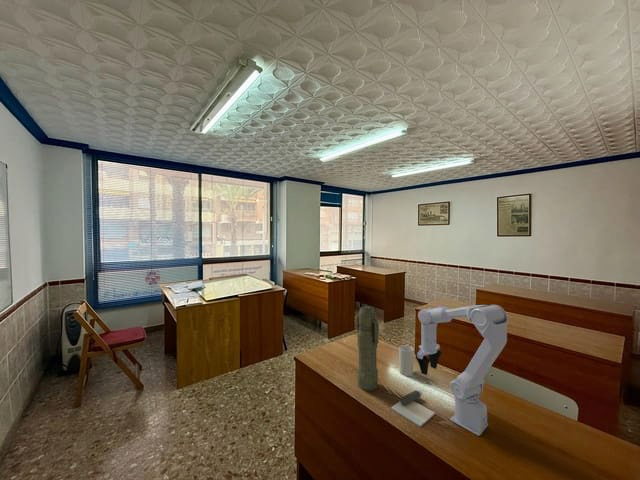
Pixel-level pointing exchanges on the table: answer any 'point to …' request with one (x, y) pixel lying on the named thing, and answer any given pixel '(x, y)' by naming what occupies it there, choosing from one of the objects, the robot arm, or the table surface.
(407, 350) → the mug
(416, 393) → the cylinder
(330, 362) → the table surface
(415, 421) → the notepad
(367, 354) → the thermos
